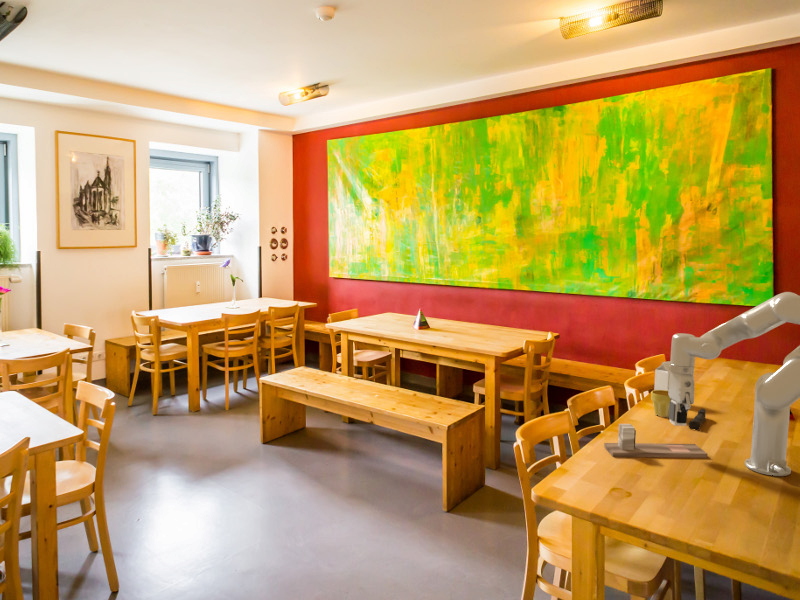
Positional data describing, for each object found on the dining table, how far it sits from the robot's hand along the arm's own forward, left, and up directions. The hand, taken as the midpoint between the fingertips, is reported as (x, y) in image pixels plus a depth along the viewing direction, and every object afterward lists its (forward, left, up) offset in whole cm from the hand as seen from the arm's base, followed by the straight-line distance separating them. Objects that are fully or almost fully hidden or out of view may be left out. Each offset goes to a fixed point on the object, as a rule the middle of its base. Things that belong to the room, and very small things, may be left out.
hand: (678, 420), depth 195 cm
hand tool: (+31, -22, -12) cm, 41 cm away
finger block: (0, 0, -1) cm, 1 cm away
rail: (0, +8, -12) cm, 14 cm away
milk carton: (+61, -22, -12) cm, 66 cm away
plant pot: (+42, -13, -12) cm, 46 cm away
